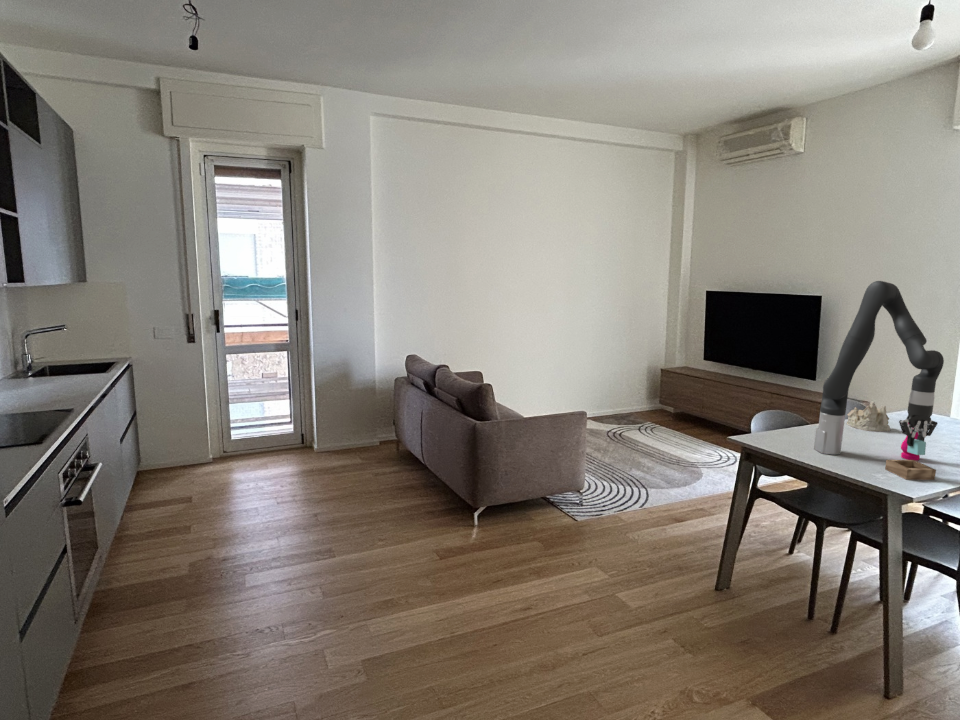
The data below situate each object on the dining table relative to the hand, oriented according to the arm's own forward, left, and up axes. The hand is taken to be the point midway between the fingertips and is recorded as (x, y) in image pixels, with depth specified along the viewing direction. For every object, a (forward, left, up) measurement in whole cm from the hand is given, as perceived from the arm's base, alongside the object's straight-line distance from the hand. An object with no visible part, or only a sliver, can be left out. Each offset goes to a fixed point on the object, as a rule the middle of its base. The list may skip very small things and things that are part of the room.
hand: (914, 445), depth 219 cm
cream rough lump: (+29, +66, -12) cm, 73 cm away
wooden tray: (-1, 0, -12) cm, 12 cm away
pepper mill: (+14, +19, -12) cm, 27 cm away
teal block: (0, -1, -3) cm, 3 cm away
